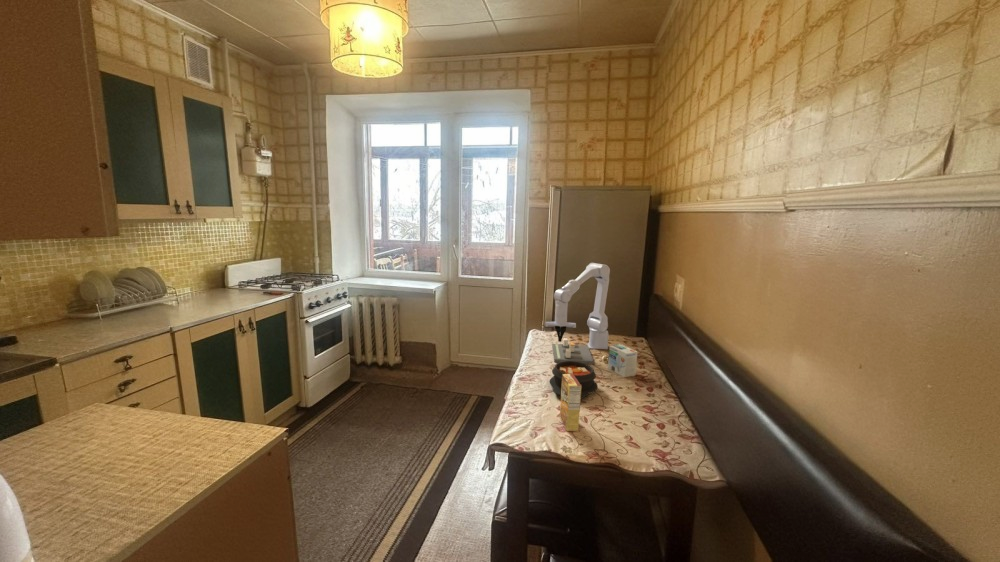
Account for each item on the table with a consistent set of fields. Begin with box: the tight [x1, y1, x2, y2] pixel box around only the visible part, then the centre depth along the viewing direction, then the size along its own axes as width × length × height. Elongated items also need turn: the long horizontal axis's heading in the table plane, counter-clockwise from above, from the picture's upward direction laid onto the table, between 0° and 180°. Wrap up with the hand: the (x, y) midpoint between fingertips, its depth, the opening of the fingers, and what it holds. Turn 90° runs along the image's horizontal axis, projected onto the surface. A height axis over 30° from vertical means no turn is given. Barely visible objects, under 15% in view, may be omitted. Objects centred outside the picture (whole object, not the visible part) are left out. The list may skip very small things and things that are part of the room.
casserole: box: [549, 361, 598, 399], centre depth 147 cm, size 25×19×8 cm
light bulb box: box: [607, 343, 638, 378], centre depth 163 cm, size 11×7×11 cm, turn 25°
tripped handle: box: [569, 342, 576, 352], centre depth 183 cm, size 2×3×4 cm, turn 175°
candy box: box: [559, 374, 582, 432], centre depth 120 cm, size 9×4×15 cm, turn 6°
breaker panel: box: [551, 337, 595, 365], centre depth 183 cm, size 18×22×5 cm
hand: (559, 341), depth 183 cm, fingers closed
